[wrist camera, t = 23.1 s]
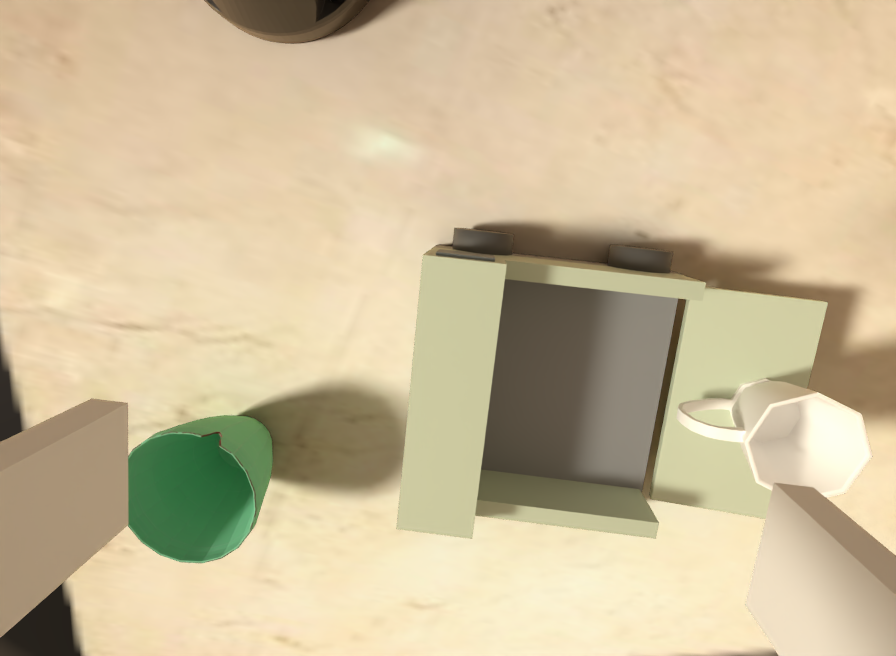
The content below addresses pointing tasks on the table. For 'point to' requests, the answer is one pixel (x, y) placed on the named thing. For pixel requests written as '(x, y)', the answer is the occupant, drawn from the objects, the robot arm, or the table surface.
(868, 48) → the table surface
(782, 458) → the cup
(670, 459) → the panel
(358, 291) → the table surface
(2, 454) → the robot arm
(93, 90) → the table surface
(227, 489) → the mug
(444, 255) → the pickup truck
